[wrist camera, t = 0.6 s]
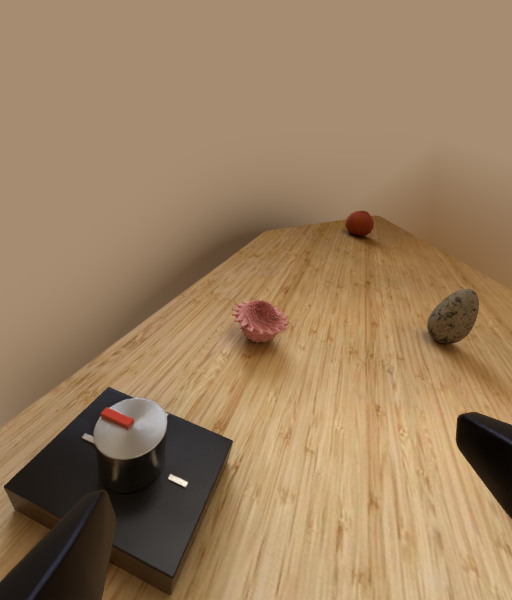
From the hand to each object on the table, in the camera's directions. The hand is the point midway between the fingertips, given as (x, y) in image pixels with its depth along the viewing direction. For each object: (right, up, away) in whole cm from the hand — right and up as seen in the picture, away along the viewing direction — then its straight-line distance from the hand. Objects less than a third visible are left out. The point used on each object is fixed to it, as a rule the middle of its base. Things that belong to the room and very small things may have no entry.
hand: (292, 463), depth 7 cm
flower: (-1, -1, +33) cm, 33 cm away
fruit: (+33, +26, +91) cm, 101 cm away
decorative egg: (+30, -3, +42) cm, 52 cm away
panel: (-10, -10, +15) cm, 21 cm away
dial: (-10, -7, +14) cm, 18 cm away
